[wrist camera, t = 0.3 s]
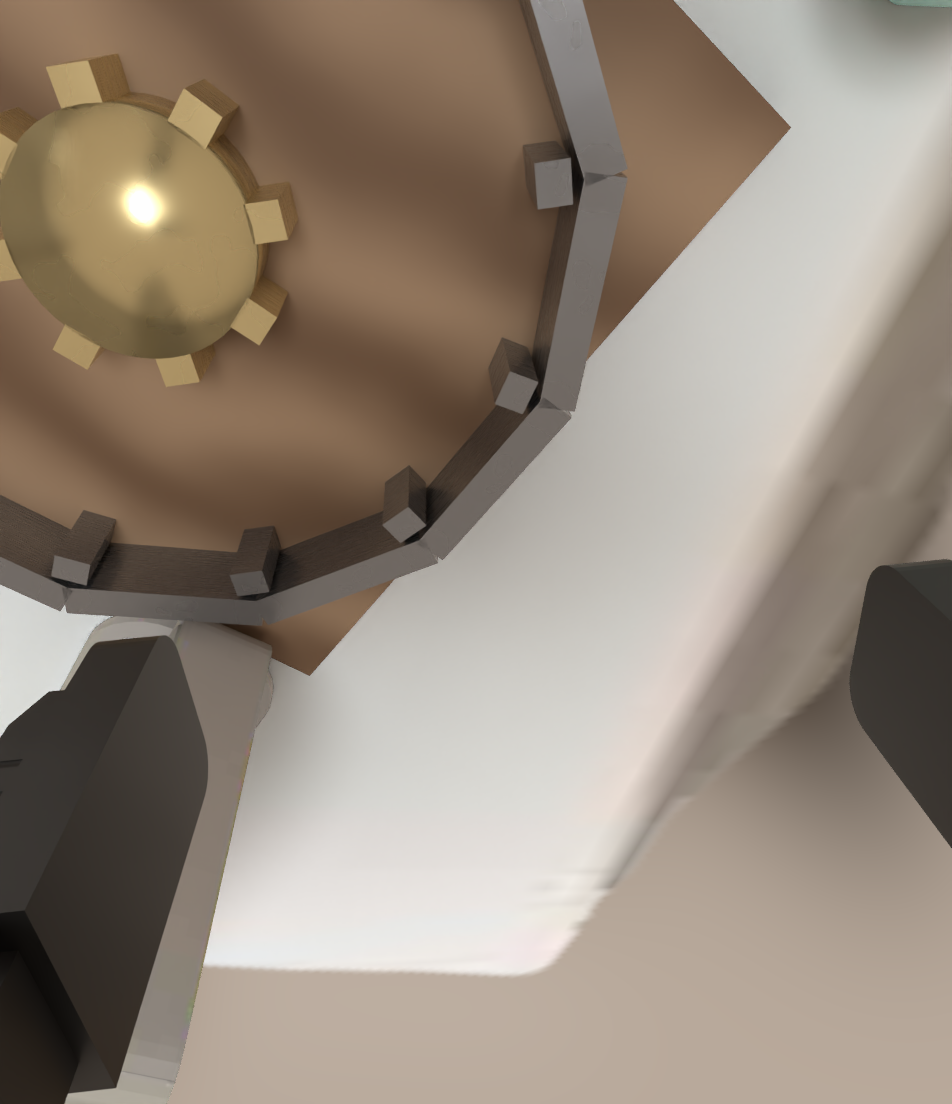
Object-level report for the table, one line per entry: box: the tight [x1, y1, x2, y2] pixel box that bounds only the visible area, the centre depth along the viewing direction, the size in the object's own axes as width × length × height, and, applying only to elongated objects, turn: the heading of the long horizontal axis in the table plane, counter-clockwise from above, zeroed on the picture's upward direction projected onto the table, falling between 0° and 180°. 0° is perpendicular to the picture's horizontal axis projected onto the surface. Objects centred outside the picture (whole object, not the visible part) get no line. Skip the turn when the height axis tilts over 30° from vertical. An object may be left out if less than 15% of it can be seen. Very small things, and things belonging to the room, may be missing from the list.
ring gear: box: [0, 0, 628, 626], centre depth 24 cm, size 27×27×3 cm
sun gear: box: [0, 53, 298, 387], centre depth 24 cm, size 9×9×2 cm
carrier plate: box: [0, 0, 791, 676], centre depth 24 cm, size 28×28×6 cm
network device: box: [60, 616, 273, 1104], centre depth 33 cm, size 26×9×20 cm, turn 146°
